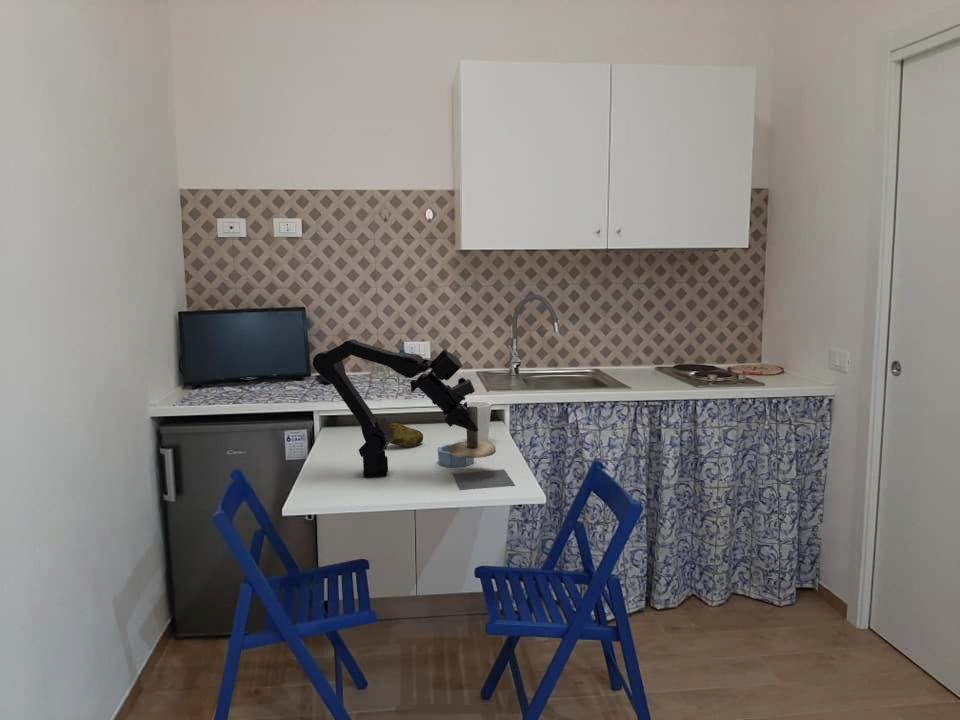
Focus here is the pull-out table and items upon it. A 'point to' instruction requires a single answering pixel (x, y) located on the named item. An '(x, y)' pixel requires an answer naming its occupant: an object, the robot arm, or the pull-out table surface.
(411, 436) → the potato
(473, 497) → the pull-out table surface
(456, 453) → the paper towel holder
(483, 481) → the mat
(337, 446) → the pull-out table surface
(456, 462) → the bowl
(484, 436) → the foam cup
